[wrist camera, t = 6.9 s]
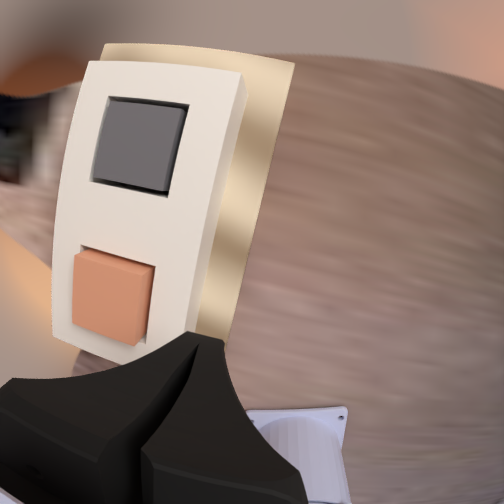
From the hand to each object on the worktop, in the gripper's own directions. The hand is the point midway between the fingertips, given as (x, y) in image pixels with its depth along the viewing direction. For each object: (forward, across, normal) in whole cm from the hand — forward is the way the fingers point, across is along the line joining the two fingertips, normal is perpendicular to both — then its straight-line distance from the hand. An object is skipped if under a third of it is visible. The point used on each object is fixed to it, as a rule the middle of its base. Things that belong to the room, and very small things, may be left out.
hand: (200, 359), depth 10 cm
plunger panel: (+10, +6, -3) cm, 12 cm away
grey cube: (+9, +6, -7) cm, 13 cm away
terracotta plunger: (+8, +6, +1) cm, 10 cm away
